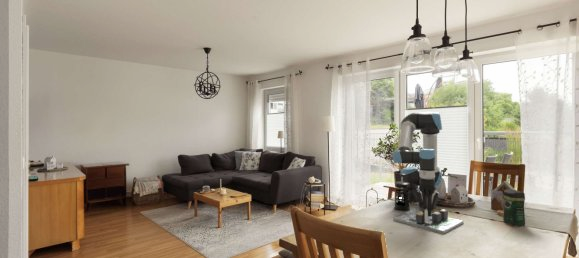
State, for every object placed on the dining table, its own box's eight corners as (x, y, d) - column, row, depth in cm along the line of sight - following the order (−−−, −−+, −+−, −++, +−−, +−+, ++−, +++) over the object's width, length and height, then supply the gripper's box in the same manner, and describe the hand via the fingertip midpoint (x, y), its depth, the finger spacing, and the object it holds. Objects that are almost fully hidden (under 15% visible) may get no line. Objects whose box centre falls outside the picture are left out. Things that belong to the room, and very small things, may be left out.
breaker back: (442, 216, 172) (442, 208, 172) (447, 217, 169) (447, 209, 169) (438, 218, 169) (438, 210, 169) (444, 219, 167) (444, 211, 167)
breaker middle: (435, 219, 167) (435, 211, 167) (441, 220, 164) (441, 212, 164) (432, 221, 164) (432, 213, 164) (437, 222, 162) (437, 214, 161)
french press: (391, 206, 199) (391, 172, 198) (405, 206, 200) (405, 172, 199) (399, 212, 187) (399, 175, 186) (413, 211, 188) (414, 175, 187)
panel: (414, 212, 186) (414, 209, 186) (463, 223, 165) (463, 220, 165) (393, 220, 171) (393, 217, 171) (443, 234, 150) (443, 230, 150)
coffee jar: (528, 226, 159) (528, 191, 158) (513, 227, 158) (513, 192, 158) (514, 220, 168) (514, 187, 168) (500, 221, 168) (500, 188, 168)
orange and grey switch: (420, 220, 166) (419, 212, 165) (425, 221, 163) (425, 213, 163) (415, 221, 163) (415, 213, 163) (421, 223, 160) (421, 215, 160)
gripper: (411, 177, 162) (412, 220, 163) (436, 180, 152) (436, 226, 153) (418, 175, 167) (418, 217, 168) (442, 178, 157) (442, 223, 158)
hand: (427, 221), depth 160 cm, fingers closed
